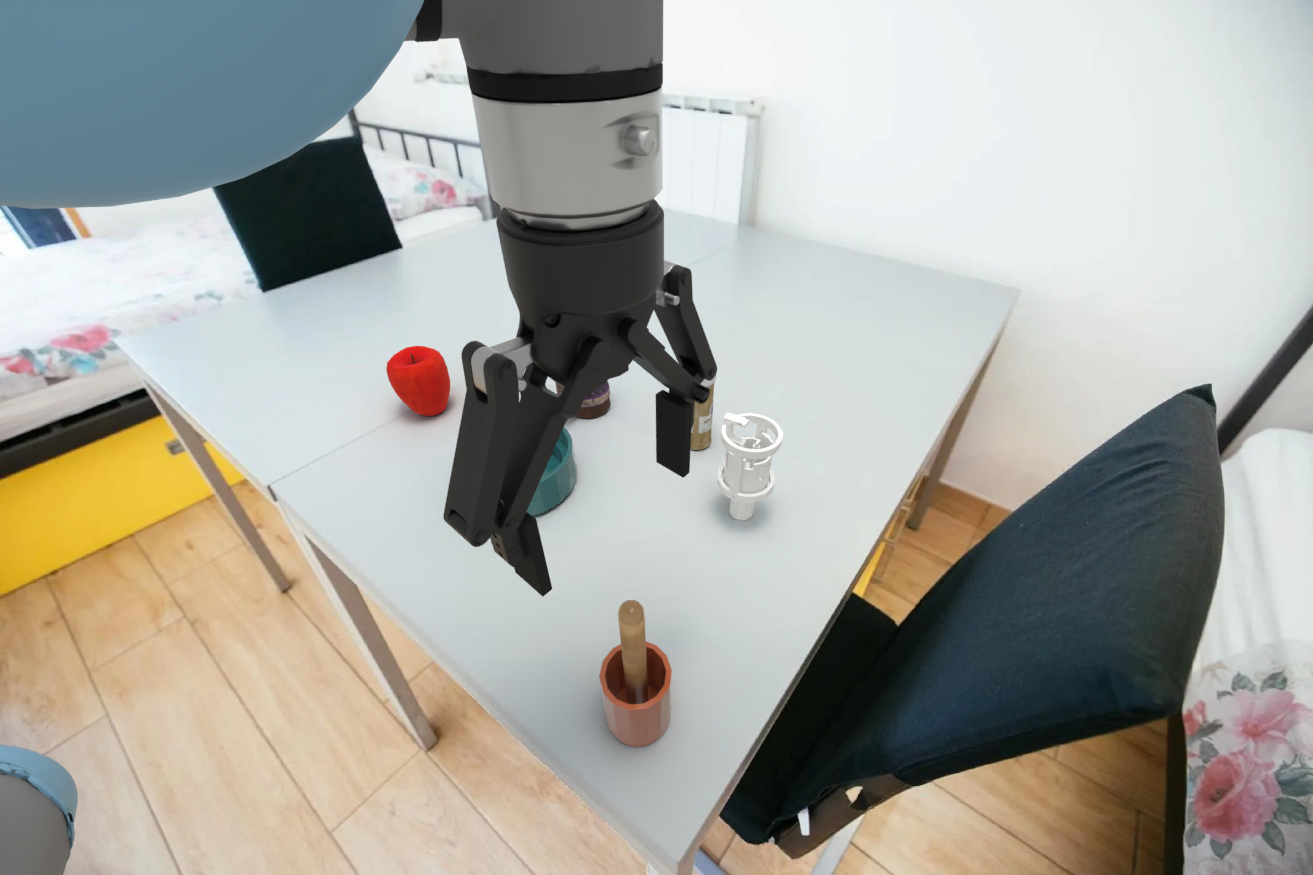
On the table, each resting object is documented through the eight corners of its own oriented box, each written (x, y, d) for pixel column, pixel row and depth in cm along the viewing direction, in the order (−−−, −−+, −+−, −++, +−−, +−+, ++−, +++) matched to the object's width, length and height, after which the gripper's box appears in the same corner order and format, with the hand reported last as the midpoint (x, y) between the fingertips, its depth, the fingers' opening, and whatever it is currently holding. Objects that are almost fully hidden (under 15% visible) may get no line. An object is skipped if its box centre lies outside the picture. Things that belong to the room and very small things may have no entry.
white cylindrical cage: (729, 485, 75) (739, 398, 66) (776, 505, 72) (793, 418, 63) (704, 517, 71) (711, 429, 61) (753, 540, 68) (768, 452, 58)
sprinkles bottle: (712, 451, 81) (718, 376, 72) (682, 451, 81) (684, 377, 72) (709, 431, 84) (714, 358, 76) (680, 432, 84) (682, 358, 76)
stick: (637, 725, 51) (629, 623, 39) (623, 709, 52) (611, 605, 40) (653, 710, 52) (649, 606, 40) (639, 695, 53) (631, 589, 41)
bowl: (503, 541, 68) (494, 509, 65) (448, 479, 77) (436, 448, 73) (598, 482, 76) (594, 450, 72) (538, 432, 85) (532, 401, 81)
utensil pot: (636, 763, 49) (632, 726, 44) (593, 710, 52) (585, 670, 47) (684, 714, 52) (686, 675, 47) (640, 667, 56) (638, 626, 50)
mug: (587, 389, 93) (579, 327, 86) (619, 403, 90) (615, 340, 83) (546, 420, 87) (534, 356, 79) (579, 436, 84) (571, 371, 76)
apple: (399, 403, 91) (376, 347, 84) (451, 388, 94) (434, 333, 87) (408, 432, 85) (385, 375, 78) (464, 415, 88) (446, 358, 81)
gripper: (339, 337, 15) (494, 688, 29) (797, 159, 29) (754, 451, 43) (241, 266, 19) (420, 606, 33) (688, 139, 33) (681, 413, 47)
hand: (610, 518), depth 38 cm, fingers open, 13 cm apart
